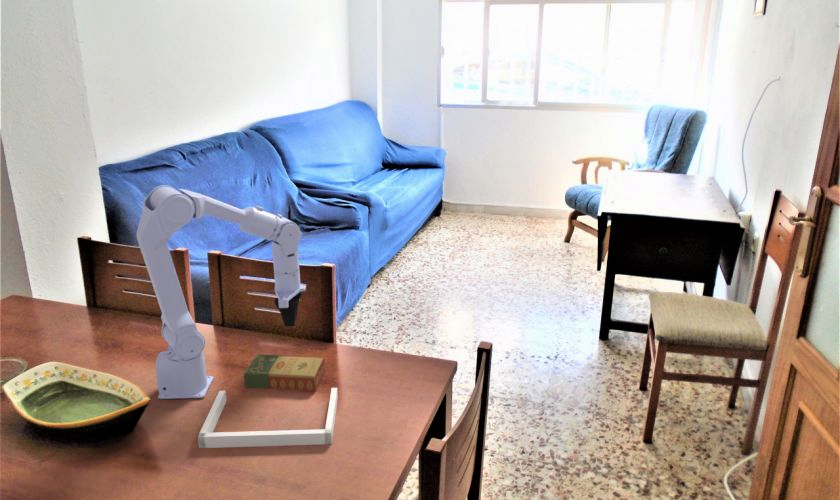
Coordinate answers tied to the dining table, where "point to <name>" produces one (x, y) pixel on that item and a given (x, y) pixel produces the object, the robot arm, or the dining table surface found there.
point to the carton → (285, 372)
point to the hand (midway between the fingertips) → (290, 322)
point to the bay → (264, 437)
